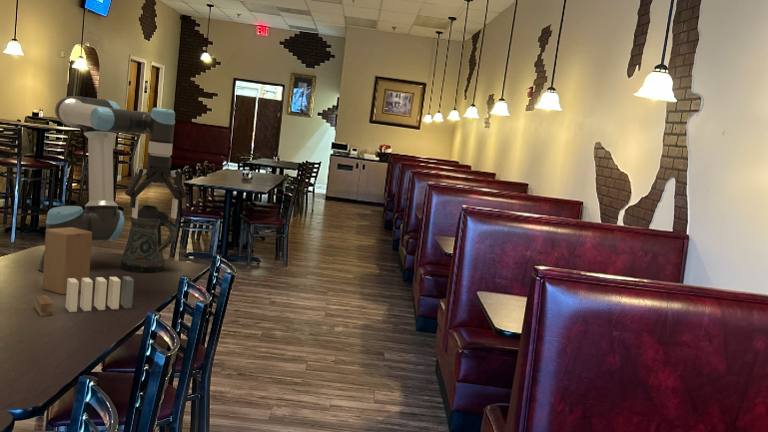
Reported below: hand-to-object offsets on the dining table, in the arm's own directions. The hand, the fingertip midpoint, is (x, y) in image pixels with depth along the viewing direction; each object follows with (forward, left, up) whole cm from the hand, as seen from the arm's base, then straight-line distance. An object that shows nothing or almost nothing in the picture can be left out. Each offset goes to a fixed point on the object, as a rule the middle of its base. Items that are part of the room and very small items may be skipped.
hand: (154, 217), depth 218 cm
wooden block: (-17, -19, -27) cm, 37 cm away
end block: (+1, -37, -26) cm, 46 cm away
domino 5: (+9, -15, -26) cm, 31 cm away
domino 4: (+7, -19, -26) cm, 33 cm away
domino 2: (+4, -26, -26) cm, 38 cm away
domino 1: (+3, -30, -26) cm, 40 cm away
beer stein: (-30, +23, -27) cm, 46 cm away
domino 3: (+6, -23, -26) cm, 35 cm away
